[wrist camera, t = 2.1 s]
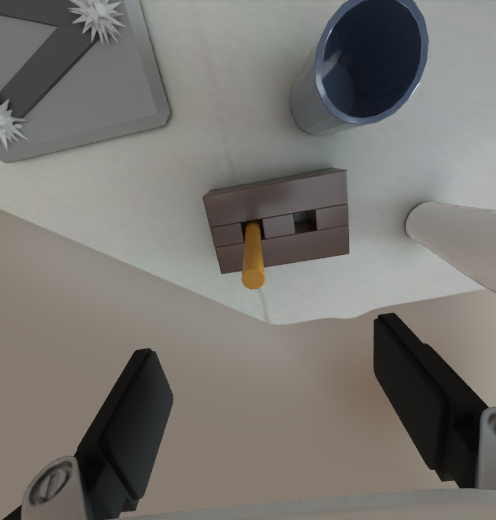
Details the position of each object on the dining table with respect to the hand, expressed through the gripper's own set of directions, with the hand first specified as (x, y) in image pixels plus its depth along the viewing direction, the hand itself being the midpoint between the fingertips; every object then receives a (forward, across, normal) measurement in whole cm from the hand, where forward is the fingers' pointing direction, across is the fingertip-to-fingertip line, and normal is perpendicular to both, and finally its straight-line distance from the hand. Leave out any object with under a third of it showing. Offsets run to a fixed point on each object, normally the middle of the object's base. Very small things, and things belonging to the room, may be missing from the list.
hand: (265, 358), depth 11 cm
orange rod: (+24, 0, 0) cm, 24 cm away
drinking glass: (+24, -22, +4) cm, 33 cm away
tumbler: (+24, -10, -12) cm, 29 cm away
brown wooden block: (+24, -3, 0) cm, 24 cm away
